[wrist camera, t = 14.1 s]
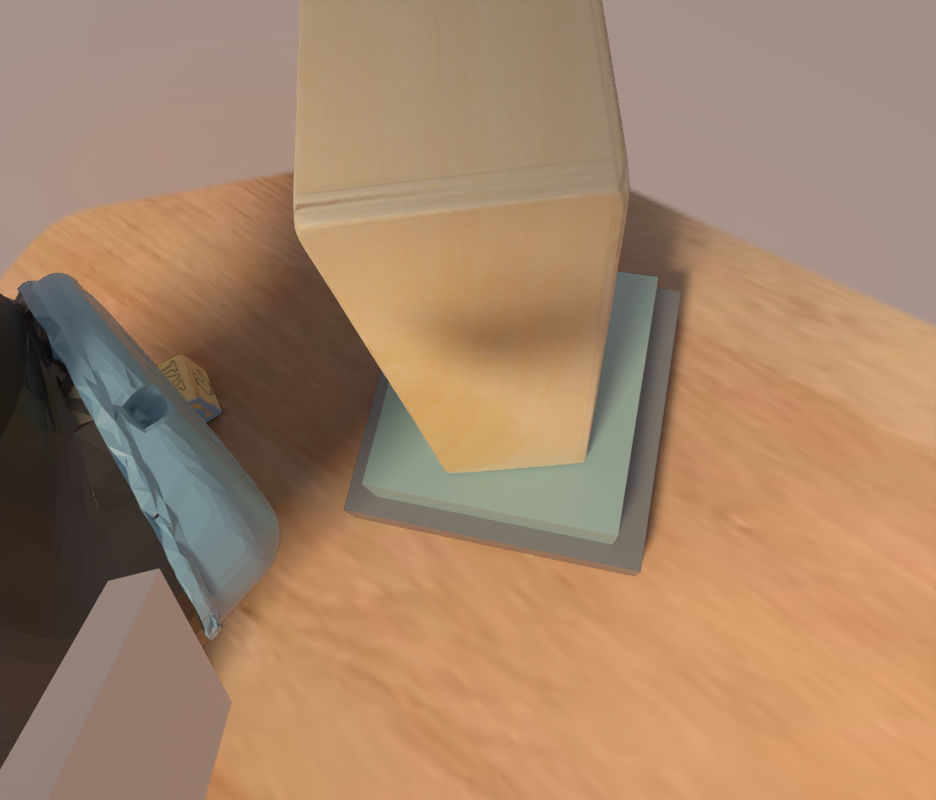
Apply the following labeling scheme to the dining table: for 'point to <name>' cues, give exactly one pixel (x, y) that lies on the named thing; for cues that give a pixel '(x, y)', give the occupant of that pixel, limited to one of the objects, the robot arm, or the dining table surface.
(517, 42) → the toy refrigerator
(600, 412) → the brick stand
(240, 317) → the dining table surface
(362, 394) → the dining table surface
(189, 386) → the alphabet block
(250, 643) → the dining table surface
